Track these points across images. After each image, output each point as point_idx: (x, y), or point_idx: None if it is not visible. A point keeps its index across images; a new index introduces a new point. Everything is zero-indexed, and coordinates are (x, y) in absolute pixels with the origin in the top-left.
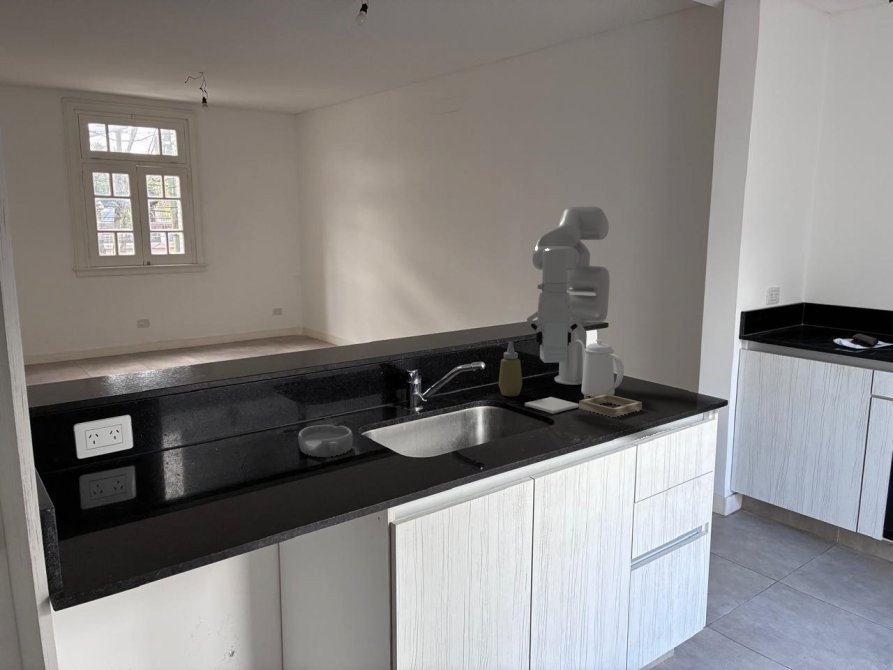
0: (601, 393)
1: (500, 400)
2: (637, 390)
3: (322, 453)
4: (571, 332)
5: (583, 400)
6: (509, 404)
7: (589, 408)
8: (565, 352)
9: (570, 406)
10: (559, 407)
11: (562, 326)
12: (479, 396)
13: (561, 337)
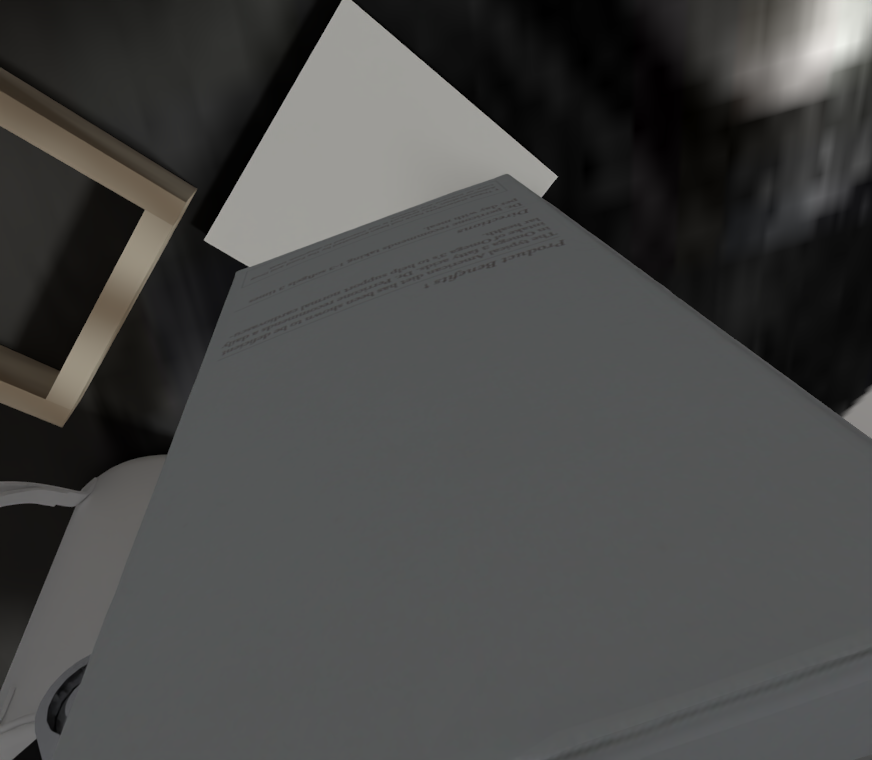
0: (124, 470)
1: (695, 252)
2: (4, 637)
3: None
4: (76, 664)
5: (157, 220)
6: (646, 174)
7: (97, 135)
8: (240, 315)
9: (248, 167)
10: (317, 116)
11: (235, 683)
12: (802, 303)
13: (288, 424)
